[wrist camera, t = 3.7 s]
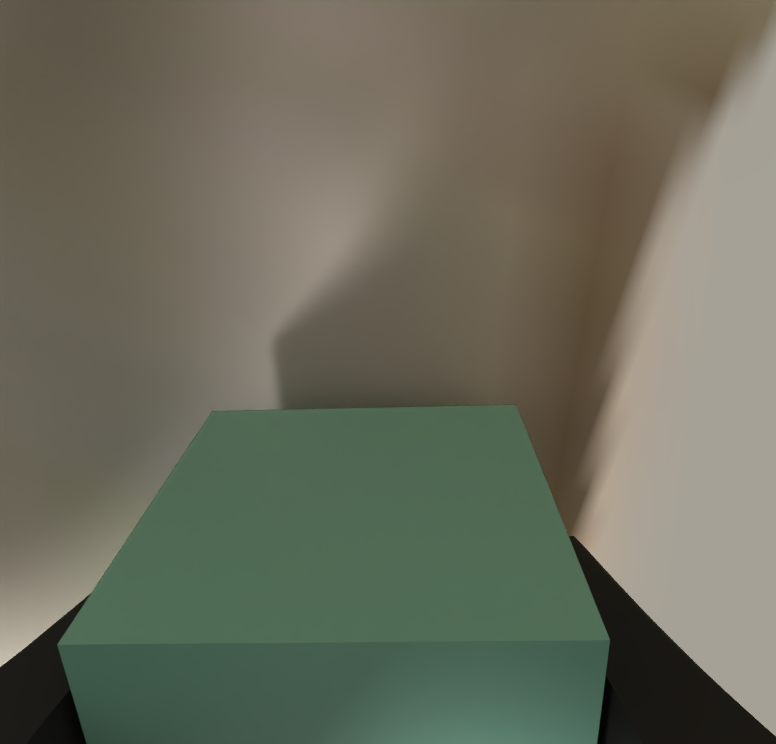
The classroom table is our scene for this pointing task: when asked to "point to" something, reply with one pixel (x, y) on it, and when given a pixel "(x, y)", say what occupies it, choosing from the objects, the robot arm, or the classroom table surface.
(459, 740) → the light green block
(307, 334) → the classroom table surface
